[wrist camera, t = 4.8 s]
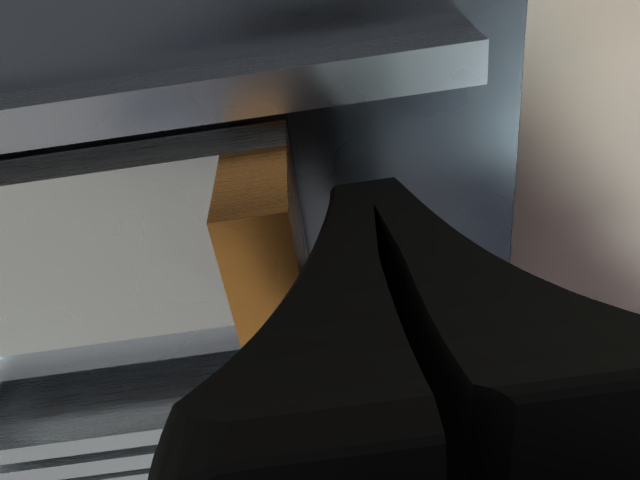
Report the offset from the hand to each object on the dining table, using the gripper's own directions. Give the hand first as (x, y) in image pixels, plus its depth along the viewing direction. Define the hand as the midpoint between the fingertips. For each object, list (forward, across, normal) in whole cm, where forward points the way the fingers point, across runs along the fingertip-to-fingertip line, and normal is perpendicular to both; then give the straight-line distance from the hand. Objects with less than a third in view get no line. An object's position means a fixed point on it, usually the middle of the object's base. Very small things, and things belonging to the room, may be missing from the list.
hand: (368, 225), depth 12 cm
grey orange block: (+1, +5, 0) cm, 5 cm away
